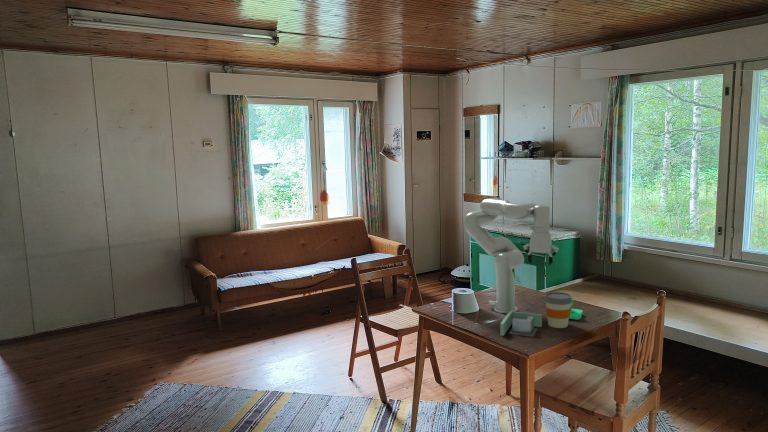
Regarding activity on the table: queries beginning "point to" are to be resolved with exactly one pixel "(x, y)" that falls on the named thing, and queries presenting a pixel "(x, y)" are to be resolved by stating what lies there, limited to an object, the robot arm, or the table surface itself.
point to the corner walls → (518, 315)
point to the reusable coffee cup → (558, 309)
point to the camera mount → (575, 313)
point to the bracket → (523, 325)
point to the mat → (524, 333)
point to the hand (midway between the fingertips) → (540, 263)
